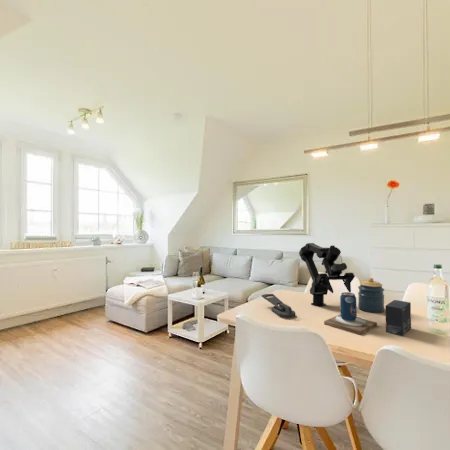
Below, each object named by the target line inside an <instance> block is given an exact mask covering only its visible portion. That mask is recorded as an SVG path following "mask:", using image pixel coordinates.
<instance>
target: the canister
mask: <svg viewBox="0 0 450 450" xmlns="http://www.w3.org/2000/svg"><path fill="white" fill-rule="evenodd" d="M384 291H385V288H383V284H382V283H381V282H379V281H376V280H374V278H373V277H368V280H362V281H360V282H359V286H358V291H357V292H358V298H357V299H358V303H357V306H358V309H359V310H361V311H363V312H368V313H377V314H378V313H383V312H385V294H384Z"/></svg>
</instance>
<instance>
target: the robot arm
mask: <svg viewBox="0 0 450 450" xmlns="http://www.w3.org/2000/svg"><path fill="white" fill-rule="evenodd" d="M341 252H342V251H341V249H340V248H338V247H336V246H335V245H330V246H329V247H323V246H320V245H317V244H315V243H314V242H309V243H308V242H307V243H306V244H305V245H304V246H302V247H301V248H300V250H299V252H298V255H299V257H300V259H301V260H302V261H303V262H305V265H306V266H307V269H308V273H309V275H310V277H311V281H312V282H311V287H310V289H309V293H310V295H312V302H311V303H310V305H312V306H316V307H324V306H326V305H327V303H324V302H325V300H324V299H325V296H327V295H328V291H329V292H330V293H331V294H333V293H334V289H333V286H332V285H331V282H330V280H331V281H341V280H342V282H343V284H344V287H345V288H346V290H347V291H348V293H352V287H351V283H352V281H353V280H354V279H355V277H356V276H355V273H354V272H345V273H344V275H342V273H343V272H344V271H345V270H347V269H348V265H347V264H346V263H345V262H341V263H335V262H336V261H337V260H338V258H339V257H340V255H341ZM314 254H316V257H317V258H319V259H321V260H322V261H321V266H324V269H325V271H324V272H323V273H321V272H319V271H318V268H317V266H316V264H315V260H314Z"/></svg>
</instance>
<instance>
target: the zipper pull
mask: <svg viewBox="0 0 450 450" xmlns="http://www.w3.org/2000/svg"><path fill="white" fill-rule="evenodd" d="M261 297H262V298H263V299H264V300H266V301H267V302H269V303H270V304H272V305H273V306H272V307H271V312H272V313H273V314H275V315H276V316H277V317H279V318H280V319H293V318H296V311H295V310H292V307H291V306H290V305H288V304H286V303H284V302H283V301H281V300H280V299H279V297H277V296H276V295H275V294H274V293H265V294H261Z"/></svg>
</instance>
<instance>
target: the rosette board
mask: <svg viewBox="0 0 450 450" xmlns="http://www.w3.org/2000/svg"><path fill="white" fill-rule="evenodd" d="M323 323H324V324H323V325H325V326H328V327H332V328H336V329H339V330H342V331H345V332H349V333H353V334H356V335H359V336H362V335H363V334H365V333H366V332H369V331H371V330H372V329H374V328H375V327H377V326H378V322H377V321H373V320H368V319H365V318H362V317H359V316H357V318H356V319H355V321H345V320H343V319H342V318H341V313H340V314H337V315H335V316H332V317H331V318H328V319H326V320H324V321H323Z"/></svg>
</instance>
